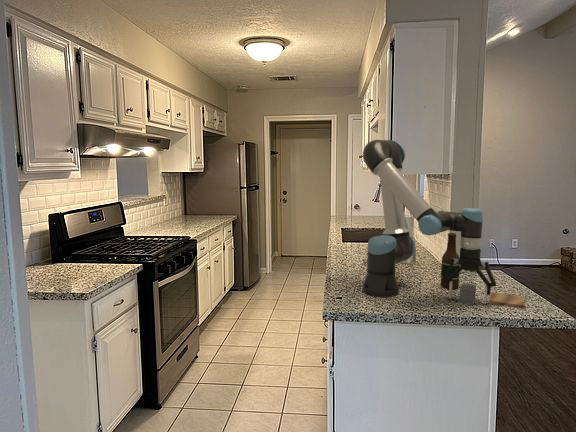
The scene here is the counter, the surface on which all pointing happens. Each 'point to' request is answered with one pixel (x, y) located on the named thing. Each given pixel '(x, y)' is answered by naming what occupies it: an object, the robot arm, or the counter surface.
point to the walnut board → (507, 300)
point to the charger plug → (467, 293)
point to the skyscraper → (409, 225)
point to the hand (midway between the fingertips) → (467, 300)
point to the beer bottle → (446, 262)
